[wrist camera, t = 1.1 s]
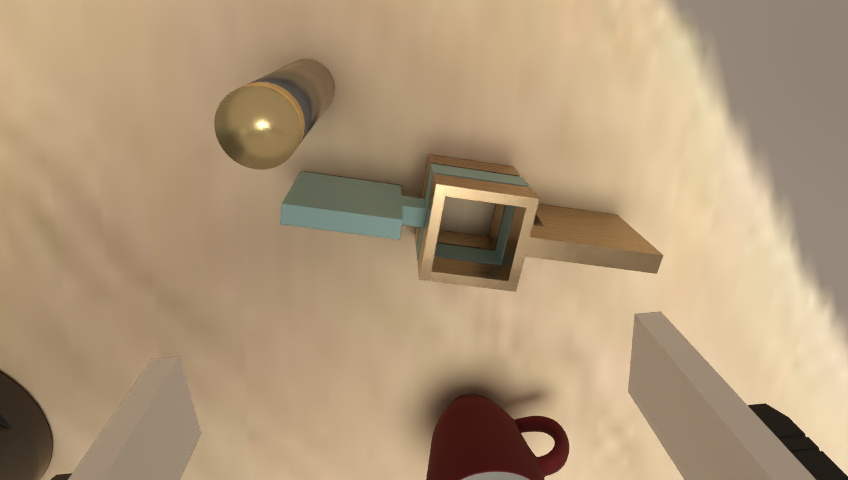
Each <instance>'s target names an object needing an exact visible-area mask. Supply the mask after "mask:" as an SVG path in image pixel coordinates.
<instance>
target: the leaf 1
mask: <svg viewBox="0 0 848 480" xmlns="http://www.w3.org/2000/svg"><path fill="white" fill-rule="evenodd" d="M433 173H434V174H441V175H448V176H455V177H461V178H468V179H475V180H482V181H489V182H496V183H503V184H510V185H516V186H523V187H529V186H528V184H527V183H526V182H525V181H524V179H523V178H522V177H518V176H512V175H505V174H498V173H491V172H484V171H478V170H471V169H464V168H457V167H451V166H444V165H437V164H431V166H430V172H429V177H428V183H427V189H426V195H425V199H423V198H416V197H409V196H402V195H401V185H394V184H387V183H380V182H373V181H366V180H358V179H351V178H344V177H337V176H330V175H323V174H316V173H309V172H302V171H301V172H300V174H299V176H298V177H297V179H296V181H295V182H294V184H293V186H292V187H291V189H290V191H289V192H288V194H287V196H286V197H285V199H284V201H283V202H282V207H281V221H280V224H283V225H290V226H298V227H305V228H313V229H321V230H328V231H336V232H343V233H351V234H359V235H366V236H374V237H382V238H389V239H397V240H399V239H400V233H401V227H402V225H408V226H416V227H420V230H419V236H418V242H417V247H416V252H417V262H418V259H419V253H420V248H421V242H422V236H423V230H424V225H425V219H426V213H427V208H428V202H429V196H430V190H431V185H432V179H433ZM514 210H515V206H511V205H505V210H504V214H503V219H502V223H501V227H500V232H499V236H498V240H497V245H496V249H495V251H492V250H484V249H477V248H469V247H461V246H454V245H446V244H439V243H436V248H435V254H434V257H439V258H447V259H455V260H463V261H470V262H478V263H486V264H494V265H502V261H503V257H504V253H505V248H506V244H507V240H508V236H509V232H510V227H511V223H512V219H513V215H514Z"/></svg>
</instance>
